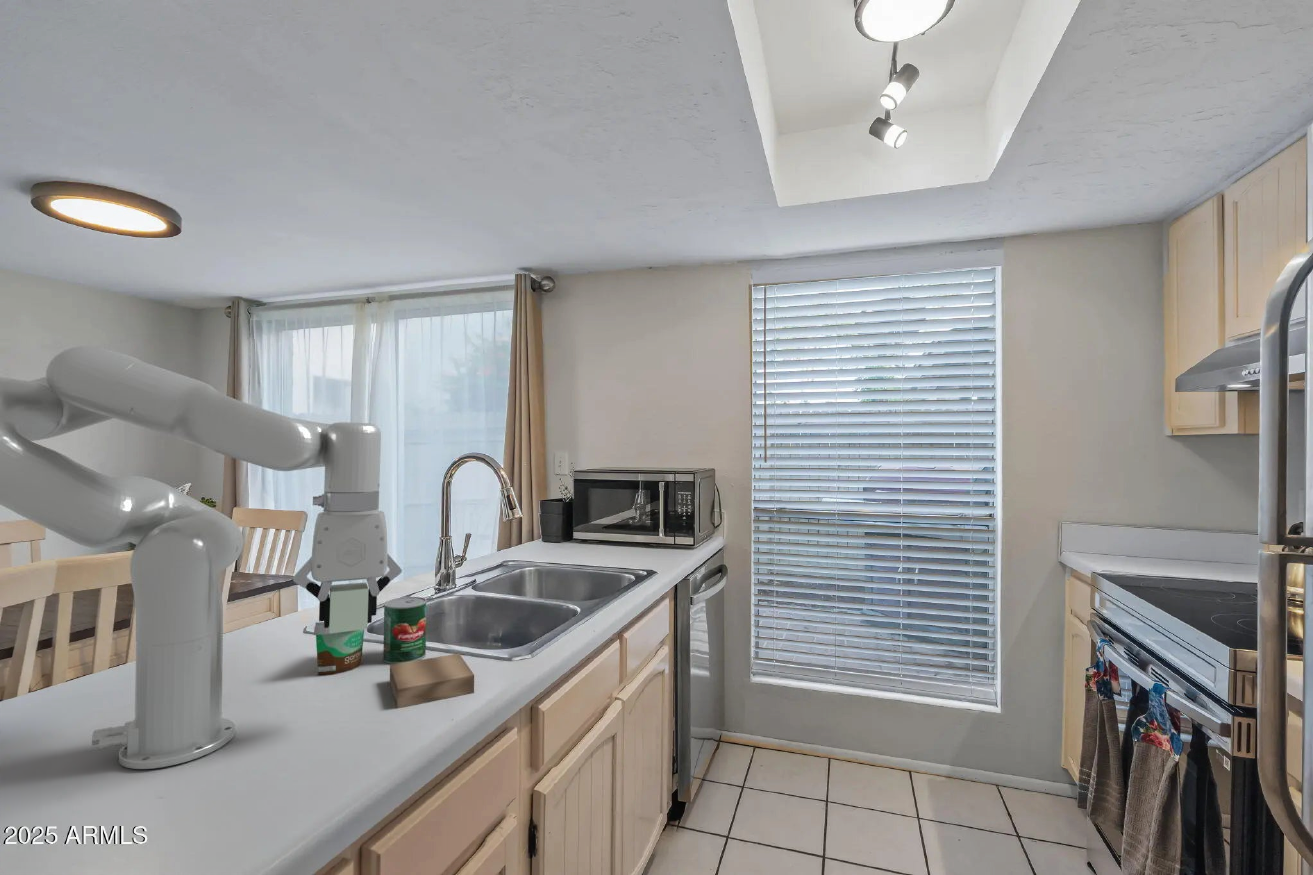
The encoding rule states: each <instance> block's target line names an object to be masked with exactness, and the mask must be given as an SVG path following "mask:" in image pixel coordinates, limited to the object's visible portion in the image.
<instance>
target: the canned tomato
mask: <svg viewBox="0 0 1313 875" xmlns="http://www.w3.org/2000/svg"><path fill="white" fill-rule="evenodd" d="M427 600H428V599H426V598H425V597H423V596H421V597H420V596H404V597H397V598H393V599H390V600H386V601H385V602H384V603H383V650H382V651H383V652H382V653H383V657H382V660H383V662H384V663H386V664H389V665H393V664H399V663H405V662H411V661H417V660H423V658H425V657H426V656H427V652H426V651H427V602H428V601H427Z"/></svg>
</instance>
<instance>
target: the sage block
mask: <svg viewBox="0 0 1313 875" xmlns="http://www.w3.org/2000/svg"><path fill="white" fill-rule="evenodd" d="M368 591H369V586H368V583H367V581H364V582H363V581H362V582H351V583H341V584H340V583H339V584H332V585H331V587H330V590H329V598H330V622H329V634H330V633H338V632H346V631H354V630H363V629H364V630H368V623H367V622H368Z"/></svg>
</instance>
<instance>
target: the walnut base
mask: <svg viewBox="0 0 1313 875" xmlns="http://www.w3.org/2000/svg"><path fill="white" fill-rule="evenodd" d="M389 683H390V687H391V690H392V694H393V696H394V700H395V703H396V705H397V709H401V708H405V707H410V706H415V705H420V704H424V703H425V704H426V703H430V702H435V701H439V700H444V699H449V698H453V697H454V698H455V697H460V696H465V695H468V694H470V695H471V694H475V674H474V673H473V671H472V670H471V668H470V667H469V665H468V664H467V663H466V661H465V660H464V658H463V656H462V655H461V653H454V654H449V655H442V656H435V657H430V658H425V659H423V658H422V659H421V660H417V661H411V662H405V663H399V664H389Z"/></svg>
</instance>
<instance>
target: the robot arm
mask: <svg viewBox="0 0 1313 875" xmlns="http://www.w3.org/2000/svg"><path fill="white" fill-rule="evenodd" d="M112 419H116V420H119V421H123V422H126V423H129V424H132V425H136V426H140V427H142V428H144V429H148V430H151V431H153V432H157V433H160V434H163V435H167V436H170V437H172V438H175V439H178V440H180V441H183V442H185V443H189V444H192V445H196V446H199V447H201V448H204V449H206V450H209V451H212V452H215V453H217V454H219V455H223V456H227V457H229V458H232V459H236V460H239V461H243V462H245V463H247V464H252V465H255V466H258V467H261V468H265V469H269V470H273V471H279V472H291V471H292V472H293V471H299V470H306V469H314V468H321V467H323V468H324V480H323V481H324V482H323V483H324V485H323V486H324V487H323V493H321V495H318V496H312V506H317V507H321V508H322V509H323V510H322V511H321V512H319V513H318V514H317V517H316V520H315V524H314V531H313V536H312V537H313V538H312V545H311V546H312V547H311V556H310V558H308V560H307V561H306V562H305V563H304V564H303V565H302V566H301V567H300V569H299V570H298V571H297V572H296V573H295V574H294V575H293V578H292V581H293V582H294V583H295V584H296V585H299V586H300V587H301V588H302V589H303V588H304V589H306V591H308V592H309V593H310V594H311V595H313V596H314V597H315V598H316V599H317V600H318V601H319V606H318V609H319V610H318V622H324V628H328V627H329V622H330V598H329V596H330V587H331V585H333V583H334V582H335V583H336V582H347V581H358V580H365V581H366V583H367V586H368V589H369V591H368V623H367V624H371V623H372V621H373V620H372V618H373V617H374V616H377V608H378V607H377V605H378V604H377V603H378V601H377V600H378V596H379V594H380V593H381V592H382V591H383V590H384V588H386V586H388V585H389V583H390V582H392V581H393V580H394V579H395V578H397V577H398V576H399V575H401V573H402V572H403V571H402V570H403V569H402V568H401V567H400V566H399V565H398V564H397V562H396V561H395V560H394V559H393V558H392V557H391V556H390V555H389V553H388V532H387V521H386V515H385V511H383V510H380V509H379V508H380V479H381V478H380V477H381V476H380V474H381V473H380V472H381V449H382V448H381V447H382V446H381V445H382V444H381V443H382V436H381V435H382V434H381V433H382V432H381V430H380V428H379V426H377V425H376V424H373V423H369V422H366V423H365V422H349V421H348V422H347V421H346V422H345V421H344V422H342V421H340V422H334V423H323V422H315V421H309V420H305V419H300V418H294V417H290V416H287V415H283V414H280V413H277V412H273V411H271V410H268V409H265V408H261V407H259V406H255V405H253V404H250V403H246V402H244V401H242V400H239V399H235V398H234V397H231V396H229V395H225V394H224V393H222V392H220V391H218V390H216V389H215V387H213V386H212V385H211V384H208V383H206V382H204V381H201V380H198V379H196V378H192V377H189V376H187V375H183V374H180V373H178V372H174V371H172V370H168V369H166V368H162V367H159V366H156V365H154V364H151V363H148V362H145V361H143V360H141V359H139V358H137V357H134V356H133V355H132V356H131V355H130V354H129V355H128V354H124V353H122V352H119V351H118V352H117V351H114V350H110V349H107V348H105V347H104V348H102V347H98V346H91V345H90V346H89V345H82V346H75V347H70V348H67V349H64V350H63V351H60V352H59V353H58V354H56V355H55V356H54V357H53V358H52V359H50V362H49V363H48V365H47V367H46V371H45V376H44V377H41V378H37V379H32V380H22V379H15V378H11V377H3V376H2V377H1V376H0V506H1V507H5V508H6V509H8V510H9V511H12V512H14V513H16V514H17V515H19V516H21V517H23V518H26V519H27V520H29V521H31V522H33V523H36V524H38V525H39V526H41V527H43V528H46V529H48V530H49V531H52V532H53V533H56V534H58V535H60V536H62V537H64V538H66V539H68V540H69V541H72V542H74V543H76V544H78V545H81V546H83V547H87V548H92V549H107V548H111V547H116V546H120V545H125V544H127V543H132V544H134V545H136V546H135V547H134V549H133V551H132V554H131V557H130V562H129V573H130V582H131V587H132V592H133V598H134V606H135V680H134V681H135V686H134V687H135V690H134V691H135V693H134V696H135V697H134V719H133V720H132V721H127V722H124V725H120V726H115V727H112V726H109V727H106V728H105V727H104V728H100V729H99V728H98V729H94V730H93V732H92V735H91V736H92V737H91V745H92V746H97V745H98V750H104V749H105V750H106V749H109V748H113V747H117V746H122V747H121V748H120V750H119V751H118V763H119V764H120V765H121V766H122V767H124V768H128V769H133V770H153V769H154V770H155V769H160V768H166V767H171V766H175V765H180V764H183V763H186V762H190V761H194V760H196V759H199V758H201V757H203V756H206V755H208V754H211V753H213V752H214V751H216V750H219V749H220V748H222V747H223V746H225V745H226V744H227V743H229V741H231V739H232V738H233V737H234V736H235V732H236V730H235V729H236V728H235V727H236V726H235V723H234V721H232V720H231V719H229V718H224V717H223V716H222V715H223V714H222V713H223V712H222V710H223V661H224V660H223V656H224V655H223V653H224V652H223V649H224V648H223V647H224V645H223V644H224V639H223V638H224V607H223V606H224V605H223V596H222V590H221V584H220V577H219V576H220V575H219V574H220V573H221V572H223V571H224V570H226V569H227V568H229V567H230V566H231V565H233V564H234V563H235V562H236V561H237V559H238V558H239V557H240V555H241V553H242V550H243V547H244V536H243V533H242V530H241V529H240V526H238V525H237V523H236V522H235V521H234V520H233V519H231V518H230V517H228V516H227V515H226V514H223V513H222V512H220V511H218V510H216V509H214V508H212V507H211V506H209V505H206V504H205V503H203V502H201V501H199V500H198V499H196V498H193V497H191V496H190V495H188V494H186V493H184V492H182V491H180V490H179V489H176V488H175V487H172V486H170V485H168V484H167V483H164V482H163V481H162V482H161V481H159V480H157V479H154V478H150V477H145V476H140V475H128V476H109V475H106V474H103V473H100V472H98V471H96V470H94V469H91V468H90V467H87V466H85V465H83V464H81V463H80V462H77V461H75V460H73V459H72V458H70V457H69V456H66V455H65V454H62V453H60V452H58V451H56V450H54V449H51V448H49V447H46V446H44V445H41V444H38V443H36V442H33V441H41V440H46V439H50V438H55V437H58V436H62V435H65V434H68V433H71V432H74V431H77V430H80V429H81V430H82V429H83V428H86V427H91V426H94V425H96V424H101V423H103V422H107V421H109V420H112ZM387 569H388V570H387ZM309 574H311V577H312V579H313V580H314V581H313V580H311V579H310V578H308V575H309ZM377 578H379V579H377ZM315 581H316V582H320V585H319V584H318V583H316V582H315Z"/></svg>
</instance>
